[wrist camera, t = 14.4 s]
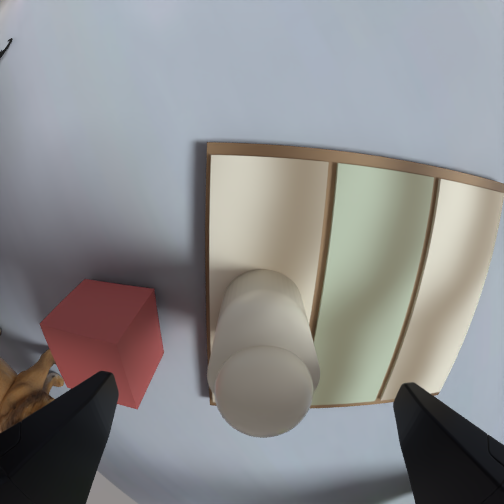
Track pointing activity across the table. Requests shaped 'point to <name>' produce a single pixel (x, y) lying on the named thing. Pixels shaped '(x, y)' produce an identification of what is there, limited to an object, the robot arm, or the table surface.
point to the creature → (5, 48)
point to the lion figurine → (25, 390)
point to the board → (355, 257)
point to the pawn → (263, 355)
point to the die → (107, 336)
